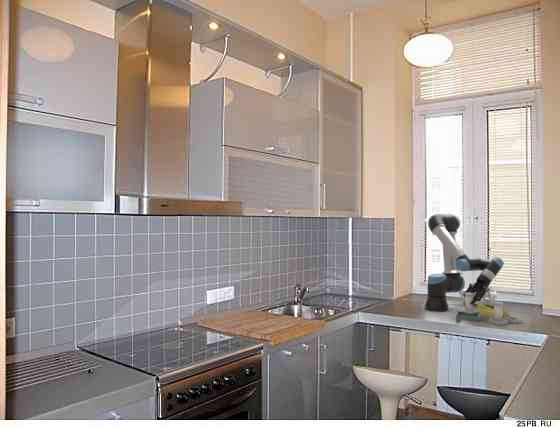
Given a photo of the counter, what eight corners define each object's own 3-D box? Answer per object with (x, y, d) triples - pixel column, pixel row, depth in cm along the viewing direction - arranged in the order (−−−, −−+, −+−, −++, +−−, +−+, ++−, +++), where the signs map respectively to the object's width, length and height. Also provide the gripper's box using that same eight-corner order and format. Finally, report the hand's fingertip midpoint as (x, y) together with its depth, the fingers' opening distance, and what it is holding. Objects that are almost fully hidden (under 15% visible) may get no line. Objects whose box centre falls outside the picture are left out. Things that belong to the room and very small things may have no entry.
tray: (457, 317, 280) (457, 310, 280) (479, 319, 275) (479, 312, 275) (456, 321, 269) (456, 314, 269) (479, 323, 264) (479, 316, 264)
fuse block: (511, 322, 269) (511, 316, 269) (525, 325, 261) (525, 319, 261) (486, 324, 262) (486, 318, 262) (498, 328, 253) (498, 322, 253)
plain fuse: (493, 321, 262) (493, 301, 263) (502, 322, 261) (503, 301, 261) (493, 323, 258) (494, 302, 258) (503, 324, 256) (503, 303, 256)
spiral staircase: (495, 314, 311) (456, 308, 321) (496, 299, 325) (458, 294, 335) (497, 291, 303) (457, 287, 314) (498, 277, 318) (459, 273, 328)
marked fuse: (464, 312, 275) (464, 292, 275) (473, 312, 273) (473, 292, 273) (464, 313, 270) (464, 293, 270) (473, 314, 268) (473, 293, 268)
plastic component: (511, 315, 278) (500, 309, 274) (506, 326, 277) (495, 320, 274) (486, 306, 296) (476, 300, 293) (482, 316, 296) (471, 311, 292)
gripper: (500, 284, 269) (478, 314, 263) (477, 280, 285) (456, 308, 279) (493, 276, 267) (471, 305, 261) (471, 272, 284) (450, 300, 277)
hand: (464, 307), depth 270 cm, fingers closed on marked fuse, 4 cm apart
